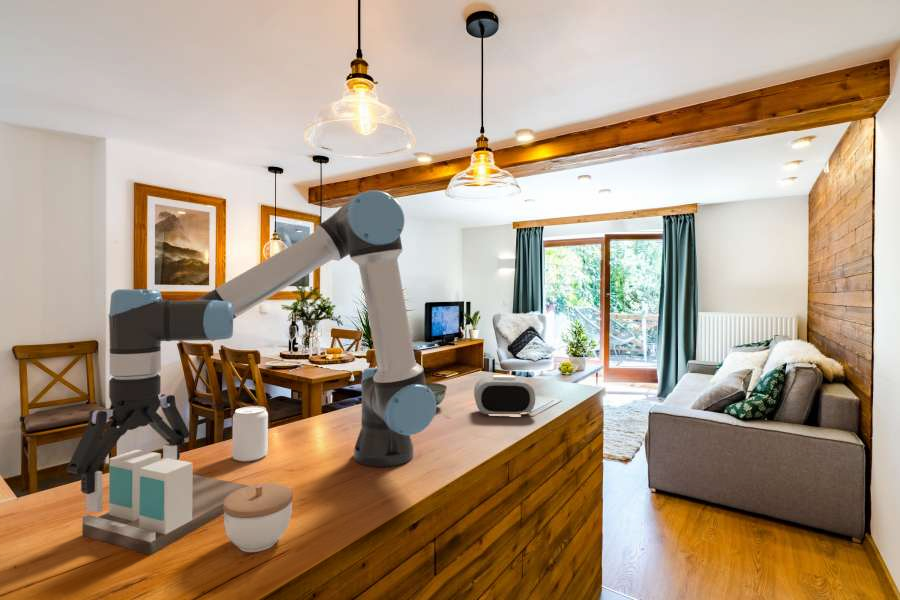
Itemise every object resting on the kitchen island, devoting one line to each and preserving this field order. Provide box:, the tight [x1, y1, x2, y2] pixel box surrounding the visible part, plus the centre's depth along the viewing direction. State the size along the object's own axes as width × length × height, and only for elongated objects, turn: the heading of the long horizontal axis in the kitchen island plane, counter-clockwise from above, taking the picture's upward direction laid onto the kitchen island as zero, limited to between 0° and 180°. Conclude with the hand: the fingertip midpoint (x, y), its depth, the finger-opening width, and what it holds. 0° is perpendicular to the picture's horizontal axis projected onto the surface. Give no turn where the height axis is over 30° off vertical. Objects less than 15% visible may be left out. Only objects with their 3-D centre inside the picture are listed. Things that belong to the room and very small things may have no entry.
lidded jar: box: [223, 482, 294, 553], centre depth 75 cm, size 11×11×9 cm
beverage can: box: [231, 405, 269, 462], centre depth 113 cm, size 8×8×12 cm
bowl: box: [426, 382, 448, 406], centre depth 165 cm, size 14×13×8 cm
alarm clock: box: [473, 374, 536, 415], centre depth 158 cm, size 21×10×13 cm, turn 90°
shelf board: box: [82, 474, 250, 556], centre depth 84 cm, size 16×22×3 cm
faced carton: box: [139, 458, 194, 534], centre depth 76 cm, size 5×6×10 cm
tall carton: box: [108, 449, 162, 521], centre depth 80 cm, size 5×6×10 cm
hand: (135, 493), depth 80 cm, fingers open, 13 cm apart
